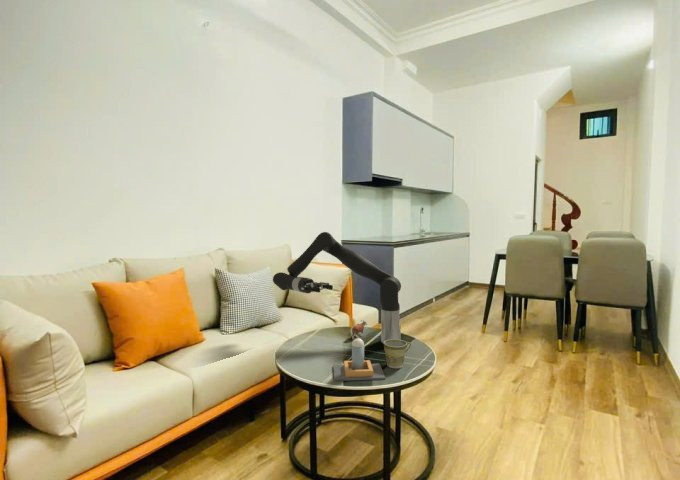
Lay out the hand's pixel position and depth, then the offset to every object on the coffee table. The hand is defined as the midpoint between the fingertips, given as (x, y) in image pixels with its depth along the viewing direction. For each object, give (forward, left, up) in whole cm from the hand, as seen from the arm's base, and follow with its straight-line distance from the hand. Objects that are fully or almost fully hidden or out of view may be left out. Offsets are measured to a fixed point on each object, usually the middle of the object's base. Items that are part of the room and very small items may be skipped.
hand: (326, 288), depth 177 cm
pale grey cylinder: (-13, +26, -29) cm, 41 cm away
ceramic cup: (-31, +19, -30) cm, 47 cm away
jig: (-13, +26, -30) cm, 42 cm away
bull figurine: (-18, -20, -30) cm, 40 cm away
